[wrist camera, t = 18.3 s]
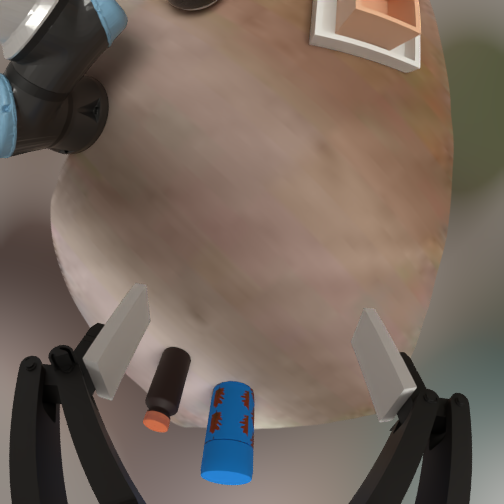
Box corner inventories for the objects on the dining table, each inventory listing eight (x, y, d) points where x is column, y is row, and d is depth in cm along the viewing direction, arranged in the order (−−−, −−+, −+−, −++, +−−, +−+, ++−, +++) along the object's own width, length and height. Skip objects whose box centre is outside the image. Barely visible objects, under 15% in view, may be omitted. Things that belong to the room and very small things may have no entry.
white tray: (308, 44, 34) (314, 34, 30) (315, -29, 27) (320, -42, 22) (406, 73, 35) (420, 68, 30) (405, 0, 27) (416, -9, 23)
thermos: (214, 403, 67) (203, 482, 44) (210, 379, 62) (196, 467, 39) (254, 405, 66) (252, 486, 44) (254, 381, 62) (252, 472, 39)
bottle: (162, 344, 58) (135, 413, 40) (190, 349, 58) (170, 421, 40) (164, 364, 61) (141, 430, 43) (191, 368, 61) (174, 437, 43)
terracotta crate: (334, 33, 32) (355, 8, 22) (337, -16, 27) (355, -45, 17) (389, 50, 32) (421, 34, 22) (389, 1, 28) (415, -21, 18)
